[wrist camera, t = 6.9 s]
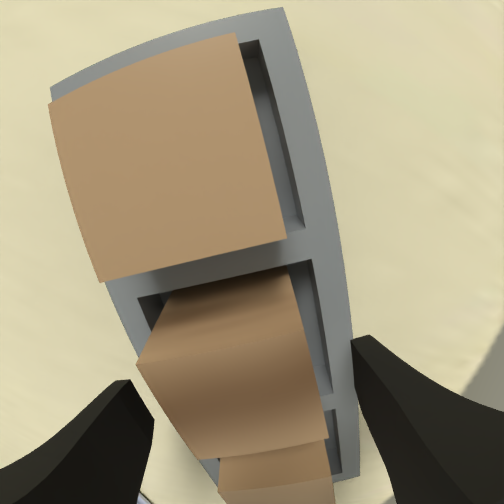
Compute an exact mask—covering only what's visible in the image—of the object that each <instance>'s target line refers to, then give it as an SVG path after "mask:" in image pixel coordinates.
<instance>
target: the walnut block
mask: <svg viewBox="0 0 504 504" xmlns="http://www.w3.org/2000/svg"><path fill="white" fill-rule="evenodd" d="M136 366H137V368H138V370H139V371H140V373H141V375H142V377H143V378H144V380H145V382H146V383H147V385H148V387H149V388H150V390H151V392H152V393H153V395H154V397H155V398H156V400H157V401H158V403H159V404H160V406H161V408H162V409H163V411H164V412H165V414H166V415H167V417H168V418H169V420H170V421H171V423H172V424H173V426H174V427H175V429H176V430H177V432H178V433H179V435H180V436H181V438H182V439H183V440H184V442H185V443H186V445H187V446H188V447H189V449H190V450H191V452H192V453H193V454H194V456H195V457H196V458H197V460H201V459H212V458H222V457H231V456H239V455H246V454H253V453H259V452H265V451H271V450H277V449H282V448H287V447H292V446H297V445H301V444H306V443H310V442H315V441H319V440H323V439H327V438H329V435H328V430H327V426H326V421H325V417H324V412H323V408H322V403H321V399H320V395H319V390H318V386H317V382H316V378H315V373H314V369H313V365H312V361H311V356H310V352H309V348H308V344H307V340H306V336H305V332H304V328H303V324H302V320H301V317H300V313H299V309H298V306H297V302H296V298H295V295H294V291H293V287H292V284H291V280H290V276H289V273H288V269H287V266H286V265H283V266H279V267H274V268H270V269H266V270H261V271H257V272H253V273H248V274H244V275H239V276H235V277H230V278H226V279H222V280H217V281H213V282H208V283H204V284H199V285H195V286H190V287H185V288H181V289H176V290H173V291H172V292H171V294H170V296H169V298H168V300H167V302H166V304H165V306H164V308H163V310H162V312H161V314H160V316H159V318H158V320H157V322H156V324H155V326H154V328H153V330H152V332H151V334H150V336H149V338H148V340H147V342H146V344H145V346H144V348H143V350H142V352H141V355H140V357H139V359H138V361H137V363H136Z"/></svg>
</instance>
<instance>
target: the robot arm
mask: <svg viewBox="0 0 504 504" xmlns="http://www.w3.org/2000/svg"><path fill="white" fill-rule="evenodd" d="M350 343H351V353H352V364H353V376H354V388H355V391H356V394H357V397H358V401H359V404H360V407H361V411H362V414H363V416H364V418H365V421H366V423H367V425H368V427H369V430H370V432H371V434H372V437H373V439H374V441H375V443H376V446H377V448H378V450H379V453H380V455H381V457H382V459H383V462H384V464H385V466H386V469H387V472H388V475H389V477H390V481H391V484H392V488H393V492H394V495H395V499H396V503H397V504H504V412H502V411H498V410H496V409H493V408H490V407H487V406H484V405H482V404H479V403H476V402H474V401H471V400H469V399H467V398H464V397H463V396H460V395H458V394H456V393H454V392H452V391H450V390H448V389H446V388H445V387H443V386H441V385H439V384H438V383H436V382H434V381H433V380H431V379H429V378H428V377H426V376H425V375H423V374H422V373H420V372H418V371H417V370H416V369H414V368H413V367H411V366H410V365H408V364H407V363H406V362H404V361H403V360H401V359H400V358H399V357H397V356H396V355H395V354H394V353H392V352H391V351H390V350H388V349H387V348H386V347H385V346H383V345H382V344H381V343H380V342H378V341H377V340H376V339H375V338H374V337H372V336H371V335H366V336H362V337H359V338H355V339H352V340H350ZM153 430H154V418H153V417H152V415H151V413H150V412H149V410H148V409H147V407H146V405H145V404H144V402H143V400H142V399H141V397H140V395H139V394H138V392H137V390H136V389H135V387H134V385H133V383H132V382H131V380H130V379H129V380H117V381H115V382H113V383H112V384H111V385H110V386H108V387H107V388H106V389H105V390H104V391H103V392H102V393H101V394H99V395H98V396H97V397H96V398H95V399H94V400H93V401H92V402H91V403H90V404H89V405H88V406H87V407H86V408H85V409H83V410H82V411H81V412H80V413H79V414H78V415H77V416H76V417H75V418H74V419H73V420H72V421H70V422H69V423H68V424H67V425H66V426H65V427H64V428H62V429H61V430H60V431H59V432H58V433H57V434H55V435H54V436H53V437H52V438H50V439H49V440H48V441H47V442H45V443H44V444H42V445H41V446H40V447H38V448H37V449H35V450H34V451H32V452H31V453H29V454H28V455H26V456H24V457H22V458H21V459H19V460H17V461H15V462H14V463H12V464H10V465H8V466H6V467H4V468H2V469H0V504H151V503H150V502H149V501H148V500H147V499H146V498H144V497H143V496H142V495H141V494H140V493H139V491H140V488H141V484H142V480H143V476H144V472H145V469H146V465H147V461H148V457H149V453H150V450H151V445H152V439H153Z"/></svg>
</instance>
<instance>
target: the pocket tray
mask: <svg viewBox="0 0 504 504" xmlns="http://www.w3.org/2000/svg"><path fill="white" fill-rule="evenodd" d="M50 90H51V97H52V102H51V103H50V104H48V108H49V113H50V119H51V124H52V129H53V133H54V138H55V143H56V147H57V151H58V155H59V160H60V164H61V167H62V171H63V175H64V179H65V182H66V186H67V190H68V193H69V196H70V200H71V203H72V206H73V210H74V213H75V216H76V219H77V222H78V225H79V228H80V231H81V234H82V237H83V240H84V243H85V246H86V248H87V251H88V254H89V257H90V259H91V262H92V265H93V267H94V270H95V272H96V275H97V277H98V280H99V282H100V283H102V282H105V284H106V287H107V289H108V292H109V294H110V297H111V299H112V301H113V304H114V306H115V308H116V311H117V313H118V315H119V317H120V319H121V322H122V324H123V326H124V328H125V330H126V333H127V335H128V337H129V339H130V341H131V343H132V345H133V347H134V349H135V351H136V353H137V355H138V357H140V355H141V352H142V350H143V348H144V346H145V344H146V342H147V340H148V338H149V336H150V334H151V332H152V330H153V328H154V326H155V324H156V322H157V320H158V318H159V316H160V314H161V312H162V310H163V308H164V306H165V304H166V302H167V300H168V298H169V296H170V294H171V292H172V291H173V290H176V289H181V288H185V287H190V286H195V285H199V284H204V283H208V282H213V281H217V280H222V279H226V278H230V277H235V276H239V275H244V274H248V273H253V272H257V271H261V270H266V269H270V268H274V267H279V266H283V265H286V266H287V269H288V273H289V276H290V280H291V284H292V287H293V291H294V295H295V298H296V302H297V306H298V309H299V313H300V317H301V320H302V324H303V328H304V332H305V336H306V340H307V344H308V348H309V352H310V356H311V361H312V365H313V369H314V373H315V378H316V382H317V386H318V390H319V395H320V399H321V403H322V408H323V412H324V417H325V421H326V426H327V430H328V435H329V438H327V439H323V440H319V441H315V442H310V443H306V444H301V445H297V446H292V447H287V448H282V449H277V450H271V451H265V452H259V453H253V454H246V455H239V456H231V457H222V458H212V459H201V460H199V461H200V463H201V464H202V466H203V467H204V469H205V470H206V472H207V473H208V474H209V476H210V477H211V479H212V480H213V481H214V483H215V484H216V486H217V487H218V493H219V494H220V496H221V497H222V498H223V500H224V501H225V502H226V503H227V504H335V496H334V489H333V483H334V482H338V481H342V480H346V479H350V478H354V477H358V476H360V441H359V413H358V397H357V394H356V391H355V388H354V376H353V364H352V353H351V343H350V340H352V339H353V333H352V323H351V314H350V306H349V298H348V290H347V282H346V275H345V268H344V261H343V255H342V248H341V242H340V236H339V230H338V224H337V218H336V213H335V207H334V202H333V197H332V191H331V186H330V181H329V176H328V172H327V167H326V162H325V158H324V153H323V149H322V144H321V140H320V135H319V131H318V127H317V123H316V119H315V115H314V111H313V107H312V103H311V99H310V95H309V91H308V88H307V84H306V80H305V77H304V73H303V70H302V66H301V63H300V59H299V56H298V52H297V49H296V46H295V43H294V39H293V36H292V33H291V30H290V27H289V24H288V21H287V18H286V15H285V12H284V9H283V7H280V8H274V9H267V10H262V11H256V12H251V13H246V14H241V15H236V16H232V17H228V18H223V19H219V20H215V21H211V22H207V23H204V24H200V25H197V26H193V27H190V28H186V29H183V30H180V31H177V32H174V33H171V34H168V35H165V36H162V37H159V38H156V39H153V40H150V41H148V42H145V43H142V44H140V45H137V46H135V47H132V48H130V49H127V50H125V51H122V52H120V53H118V54H115V55H113V56H111V57H109V58H106V59H104V60H102V61H100V62H98V63H96V64H93V65H91V66H89V67H87V68H85V69H83V70H81V71H79V72H77V73H75V74H73V75H72V76H70V77H68V78H66V79H64V80H62V81H60V82H59V83H57V84H55V85H53V86H52V87H50Z"/></svg>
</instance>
